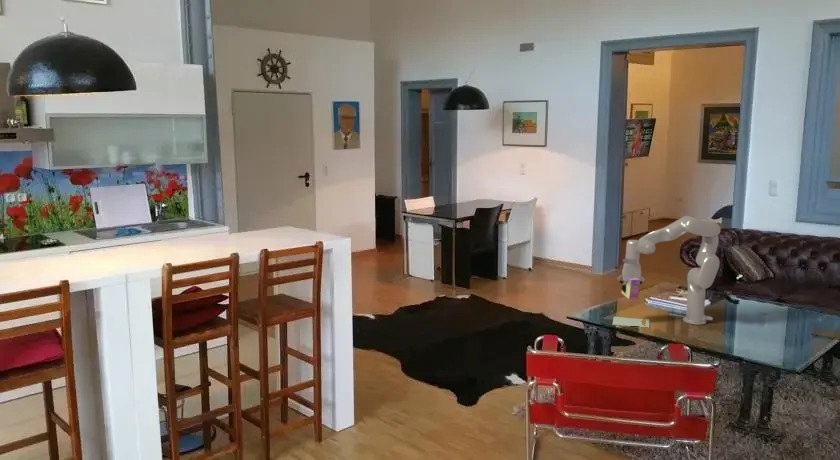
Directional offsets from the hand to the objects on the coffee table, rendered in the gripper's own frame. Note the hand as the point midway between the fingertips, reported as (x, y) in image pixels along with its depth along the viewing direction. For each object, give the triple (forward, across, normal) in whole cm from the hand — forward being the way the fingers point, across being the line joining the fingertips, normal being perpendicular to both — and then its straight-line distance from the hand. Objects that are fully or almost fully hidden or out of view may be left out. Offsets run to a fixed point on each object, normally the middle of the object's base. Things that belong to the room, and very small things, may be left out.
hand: (630, 291), depth 387 cm
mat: (+18, +2, -1) cm, 19 cm away
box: (+3, 0, 0) cm, 3 cm away
